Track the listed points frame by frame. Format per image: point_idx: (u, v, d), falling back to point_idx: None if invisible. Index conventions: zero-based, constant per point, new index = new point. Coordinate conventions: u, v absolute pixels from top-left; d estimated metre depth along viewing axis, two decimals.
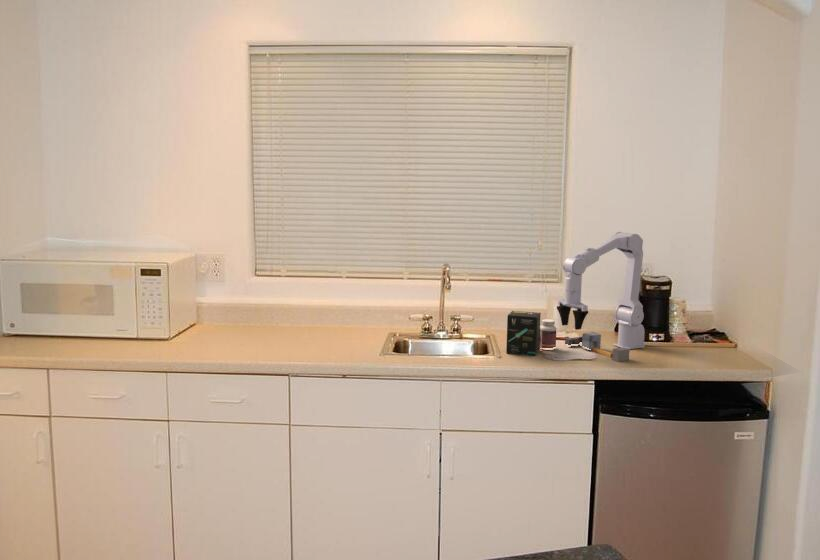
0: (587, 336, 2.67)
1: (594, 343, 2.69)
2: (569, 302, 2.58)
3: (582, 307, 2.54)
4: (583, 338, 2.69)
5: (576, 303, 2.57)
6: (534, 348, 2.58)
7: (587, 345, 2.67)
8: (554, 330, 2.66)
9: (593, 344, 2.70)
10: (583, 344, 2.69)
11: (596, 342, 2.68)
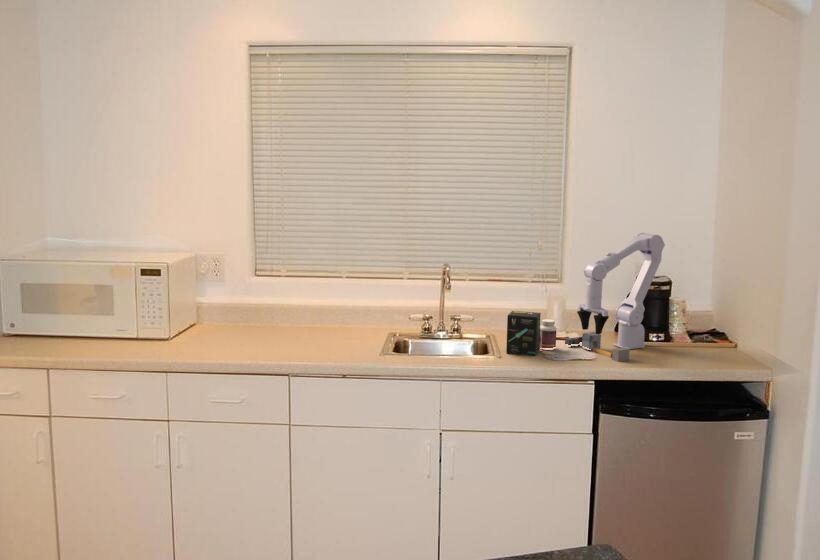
0: (587, 336, 2.67)
1: (594, 343, 2.69)
2: (590, 307, 2.65)
3: (603, 312, 2.61)
4: (583, 338, 2.69)
5: (597, 308, 2.64)
6: (534, 348, 2.58)
7: (587, 345, 2.67)
8: (554, 330, 2.66)
9: (593, 344, 2.70)
10: (583, 344, 2.69)
11: (596, 342, 2.68)
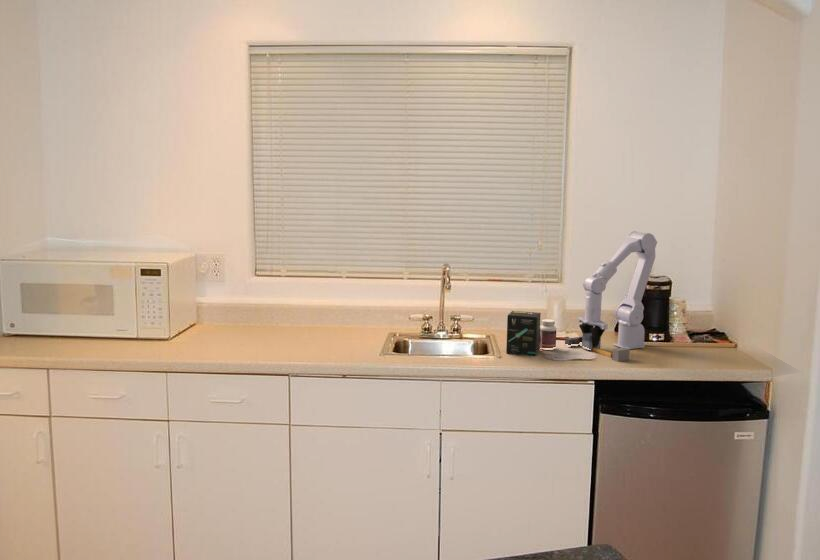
0: (587, 336, 2.67)
1: None
2: (589, 320, 2.66)
3: (602, 325, 2.62)
4: (583, 338, 2.69)
5: (596, 321, 2.65)
6: (534, 348, 2.58)
7: (587, 345, 2.67)
8: (554, 330, 2.66)
9: None
10: (583, 344, 2.69)
11: None
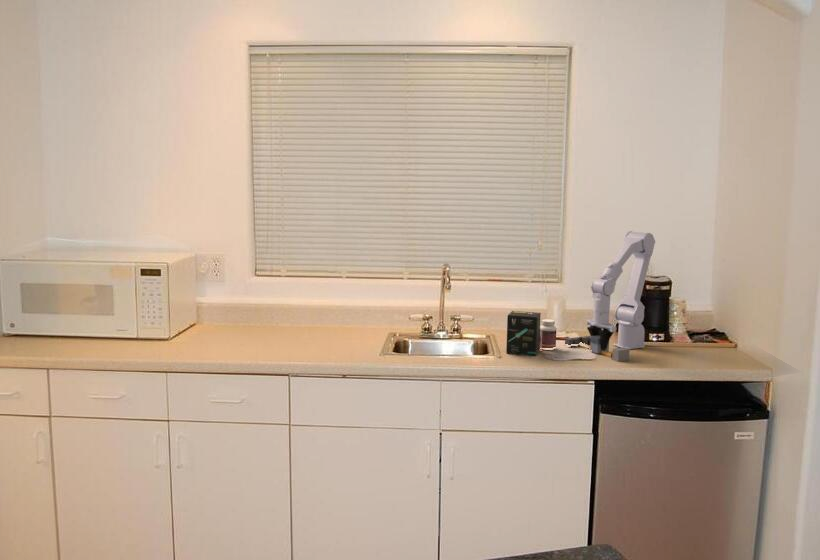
0: (595, 339, 2.63)
1: None
2: (598, 323, 2.61)
3: (611, 328, 2.57)
4: (591, 341, 2.65)
5: (604, 324, 2.61)
6: (534, 348, 2.58)
7: (595, 348, 2.63)
8: (554, 330, 2.66)
9: None
10: (591, 347, 2.65)
11: None
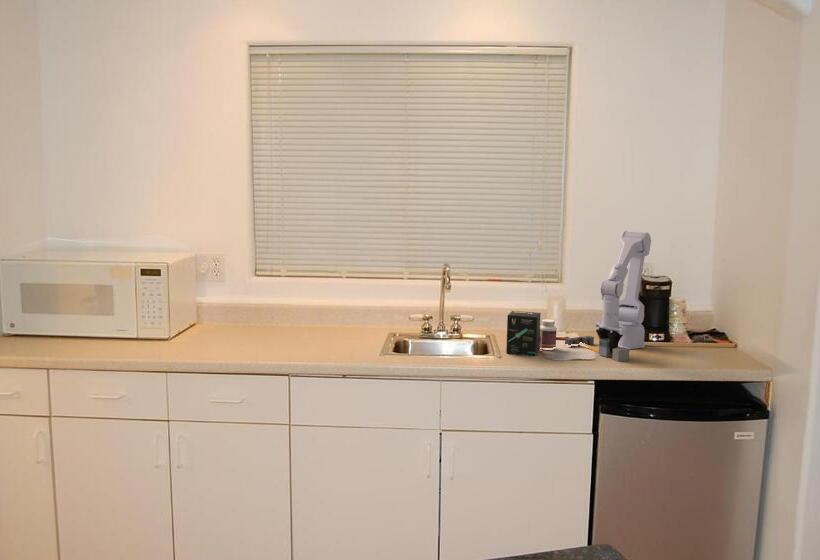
0: (604, 342, 2.58)
1: None
2: (607, 325, 2.57)
3: (620, 330, 2.53)
4: (600, 344, 2.61)
5: (614, 326, 2.57)
6: (534, 348, 2.58)
7: (604, 351, 2.59)
8: (554, 330, 2.66)
9: None
10: (600, 350, 2.61)
11: None
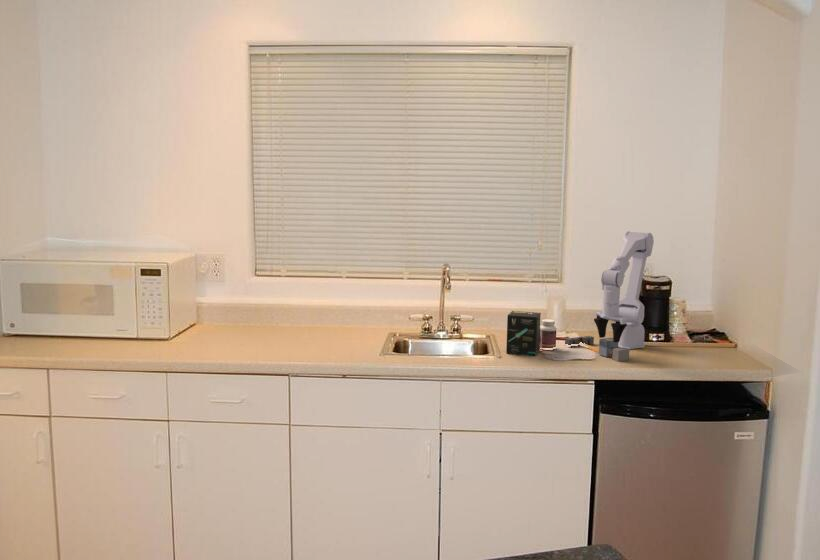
0: (604, 342, 2.58)
1: (612, 349, 2.61)
2: (607, 315, 2.57)
3: (621, 320, 2.53)
4: (600, 344, 2.61)
5: (614, 316, 2.56)
6: (534, 348, 2.58)
7: (604, 351, 2.59)
8: (554, 330, 2.66)
9: (610, 350, 2.62)
10: (600, 350, 2.61)
11: (613, 348, 2.60)
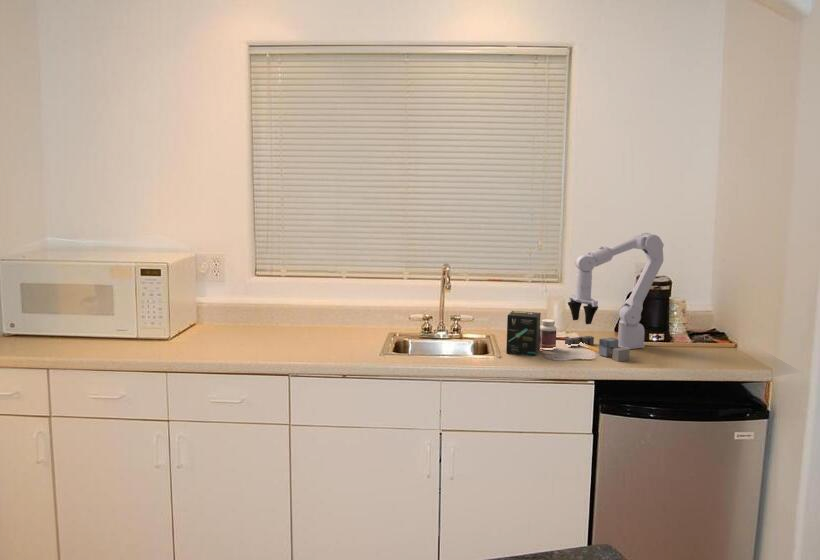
0: (604, 342, 2.58)
1: (612, 349, 2.61)
2: (580, 298, 2.70)
3: (592, 303, 2.66)
4: (600, 344, 2.61)
5: (586, 299, 2.69)
6: (534, 348, 2.58)
7: (604, 351, 2.59)
8: (554, 330, 2.66)
9: (610, 350, 2.62)
10: (600, 350, 2.61)
11: (613, 348, 2.60)
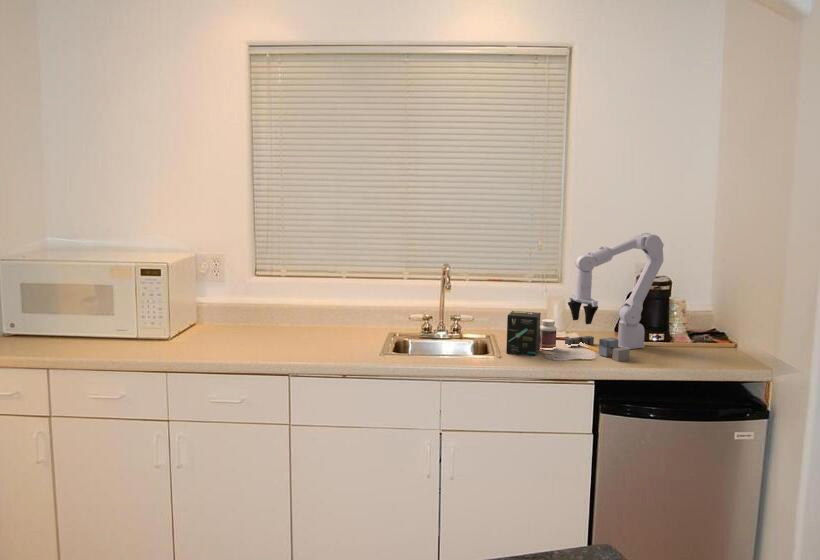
0: (604, 342, 2.58)
1: (612, 349, 2.61)
2: (580, 298, 2.70)
3: (592, 303, 2.66)
4: (600, 344, 2.61)
5: (586, 299, 2.69)
6: (534, 348, 2.58)
7: (604, 351, 2.59)
8: (554, 330, 2.66)
9: (610, 350, 2.62)
10: (600, 350, 2.61)
11: (613, 348, 2.60)
